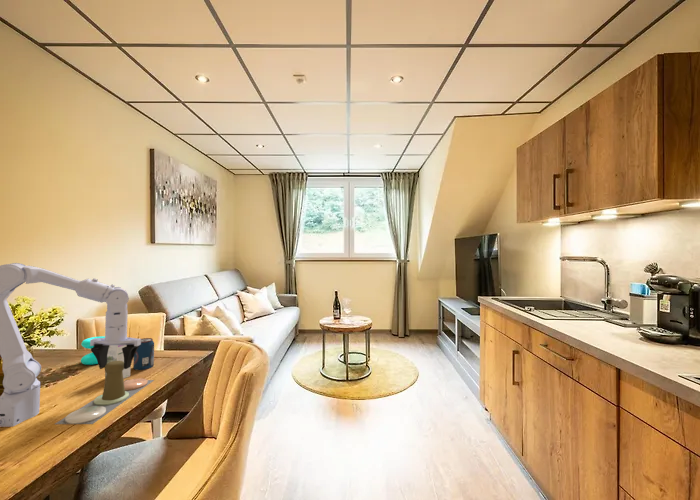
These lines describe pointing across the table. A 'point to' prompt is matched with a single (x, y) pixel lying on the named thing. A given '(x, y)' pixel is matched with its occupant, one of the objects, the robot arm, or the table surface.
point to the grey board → (108, 407)
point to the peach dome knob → (134, 384)
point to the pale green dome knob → (102, 402)
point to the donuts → (90, 357)
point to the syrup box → (117, 357)
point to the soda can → (144, 355)
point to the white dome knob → (85, 414)
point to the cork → (114, 381)
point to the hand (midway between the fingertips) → (115, 367)
